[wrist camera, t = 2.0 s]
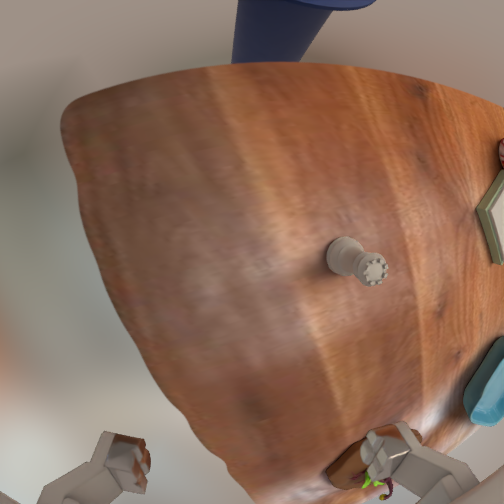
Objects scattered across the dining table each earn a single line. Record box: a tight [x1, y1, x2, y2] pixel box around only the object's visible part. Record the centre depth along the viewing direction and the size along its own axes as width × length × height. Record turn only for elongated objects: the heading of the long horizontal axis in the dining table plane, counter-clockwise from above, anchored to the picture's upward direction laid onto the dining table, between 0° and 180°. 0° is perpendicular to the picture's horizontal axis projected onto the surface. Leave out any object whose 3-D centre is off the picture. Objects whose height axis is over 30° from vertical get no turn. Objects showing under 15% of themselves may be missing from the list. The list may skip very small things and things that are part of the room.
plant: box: [326, 429, 422, 500], centre depth 35 cm, size 20×20×11 cm
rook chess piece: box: [327, 237, 388, 286], centre depth 27 cm, size 4×4×8 cm
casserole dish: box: [463, 336, 504, 426], centre depth 39 cm, size 37×22×7 cm, turn 59°
